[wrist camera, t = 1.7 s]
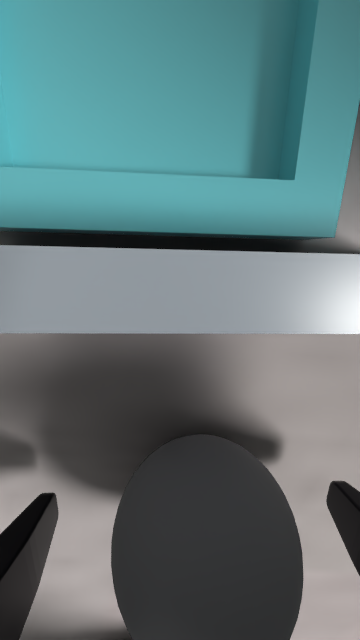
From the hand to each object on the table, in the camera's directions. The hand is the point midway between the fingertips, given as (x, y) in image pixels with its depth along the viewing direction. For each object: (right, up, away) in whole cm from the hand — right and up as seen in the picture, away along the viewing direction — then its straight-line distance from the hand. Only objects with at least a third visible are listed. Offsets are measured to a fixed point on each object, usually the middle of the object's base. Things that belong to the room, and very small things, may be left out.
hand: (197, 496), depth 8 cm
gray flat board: (0, +7, -1) cm, 7 cm away
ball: (0, 0, +1) cm, 1 cm away
